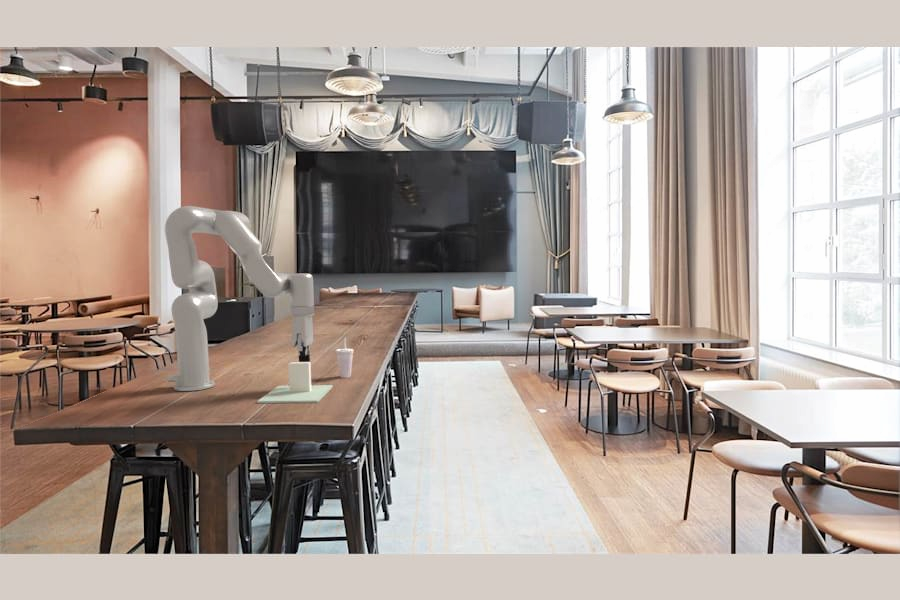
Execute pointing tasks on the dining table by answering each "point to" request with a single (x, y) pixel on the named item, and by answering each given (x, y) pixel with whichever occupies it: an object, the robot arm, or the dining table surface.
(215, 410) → the dining table surface
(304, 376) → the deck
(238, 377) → the dining table surface
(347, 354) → the smoothie
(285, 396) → the mat
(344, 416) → the dining table surface
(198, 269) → the robot arm
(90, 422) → the dining table surface
